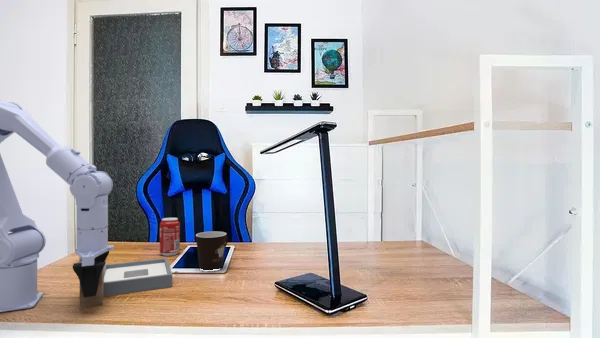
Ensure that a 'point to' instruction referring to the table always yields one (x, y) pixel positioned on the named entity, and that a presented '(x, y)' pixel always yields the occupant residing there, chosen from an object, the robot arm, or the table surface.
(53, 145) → the robot arm
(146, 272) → the box
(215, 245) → the coffee mug
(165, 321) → the table surface
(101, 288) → the peg
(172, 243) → the beverage can
